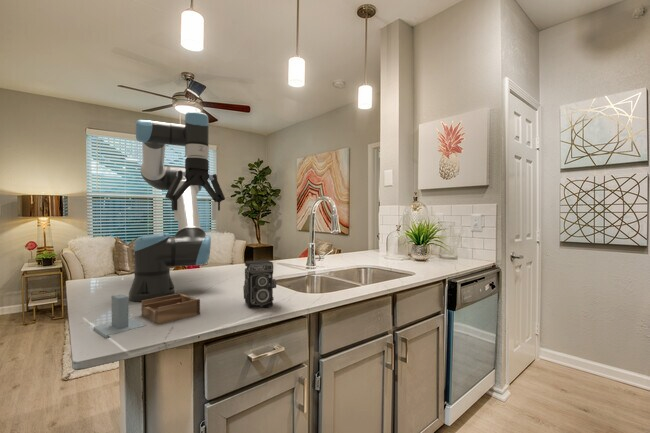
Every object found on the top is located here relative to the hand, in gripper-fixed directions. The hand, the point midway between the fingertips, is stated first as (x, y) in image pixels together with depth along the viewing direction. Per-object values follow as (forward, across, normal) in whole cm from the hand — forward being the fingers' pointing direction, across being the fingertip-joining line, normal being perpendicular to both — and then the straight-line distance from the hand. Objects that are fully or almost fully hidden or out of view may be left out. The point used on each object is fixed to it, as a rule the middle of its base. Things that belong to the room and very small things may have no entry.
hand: (197, 220), depth 109 cm
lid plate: (+29, -26, -7) cm, 39 cm away
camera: (+29, +12, -19) cm, 37 cm away
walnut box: (+29, -12, -7) cm, 32 cm away
